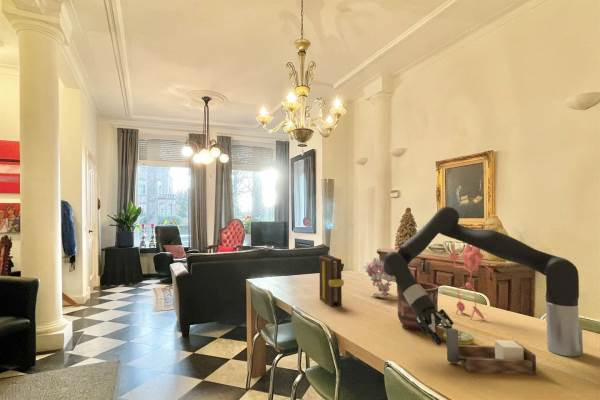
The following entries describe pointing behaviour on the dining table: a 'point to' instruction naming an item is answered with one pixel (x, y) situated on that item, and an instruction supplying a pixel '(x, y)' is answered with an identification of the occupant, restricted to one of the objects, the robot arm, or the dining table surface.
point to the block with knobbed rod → (501, 352)
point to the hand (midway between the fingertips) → (448, 341)
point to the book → (330, 280)
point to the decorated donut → (462, 338)
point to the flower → (373, 270)
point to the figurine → (471, 259)
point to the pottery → (406, 311)
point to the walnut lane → (495, 361)
